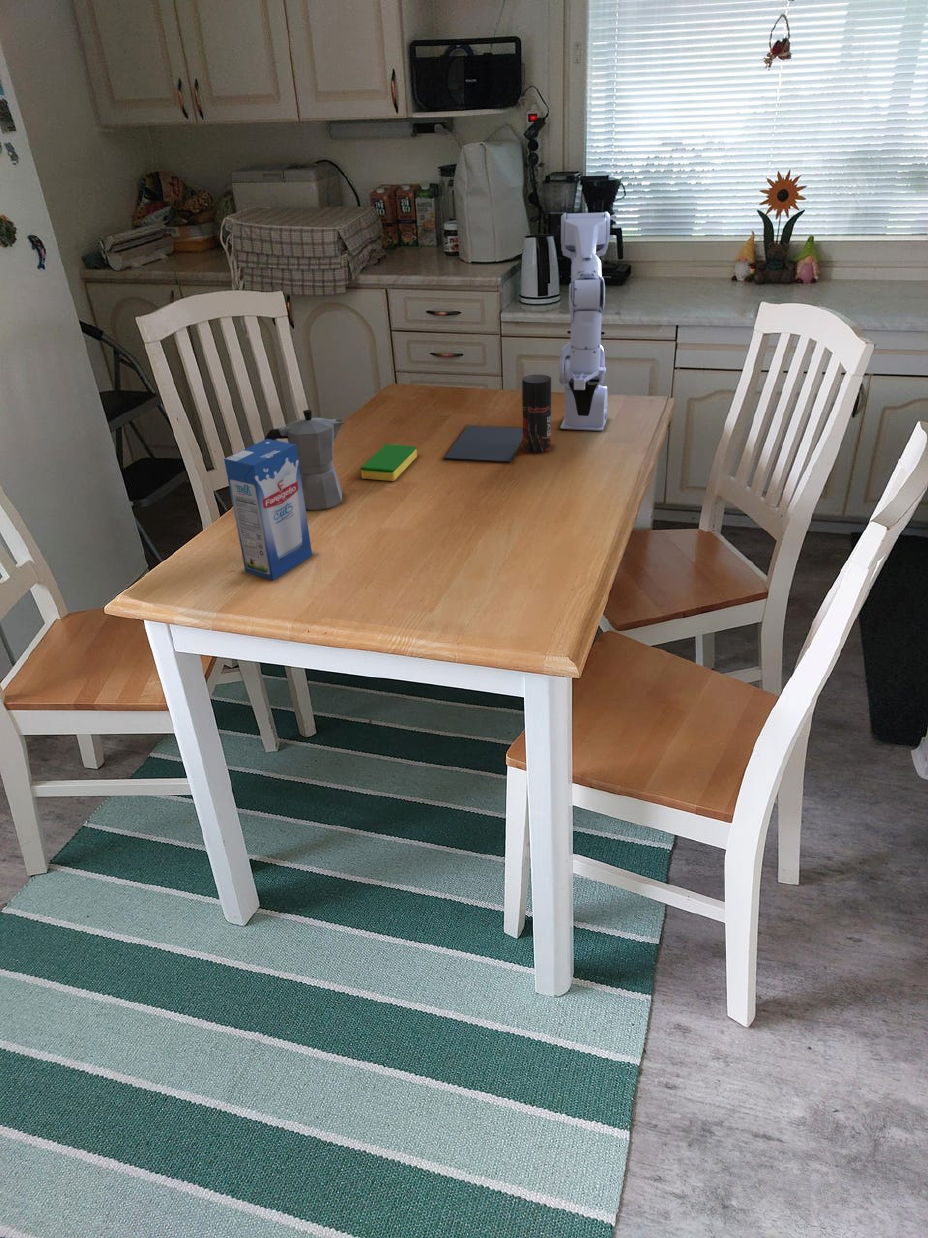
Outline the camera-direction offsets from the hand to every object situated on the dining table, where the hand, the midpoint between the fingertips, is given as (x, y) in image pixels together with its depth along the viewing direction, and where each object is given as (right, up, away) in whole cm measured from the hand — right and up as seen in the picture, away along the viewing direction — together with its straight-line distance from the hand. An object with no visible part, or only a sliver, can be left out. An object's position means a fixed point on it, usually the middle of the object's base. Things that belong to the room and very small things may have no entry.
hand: (583, 414), depth 182 cm
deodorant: (-8, -4, +14) cm, 17 cm away
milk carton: (-55, -31, -27) cm, 69 cm away
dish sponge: (-39, -9, +8) cm, 41 cm away
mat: (-19, -3, +17) cm, 25 cm away
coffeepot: (-52, -18, -5) cm, 56 cm away
